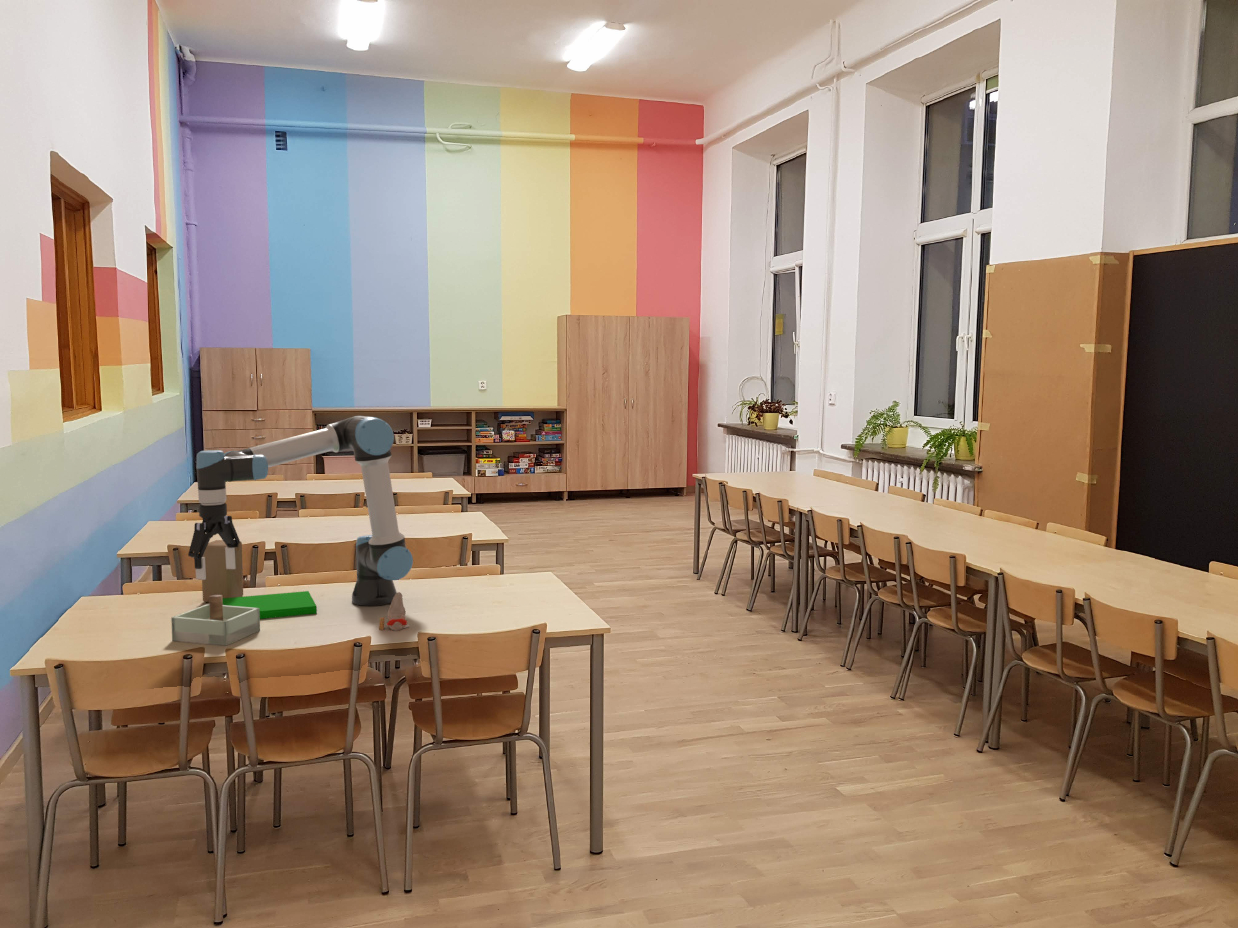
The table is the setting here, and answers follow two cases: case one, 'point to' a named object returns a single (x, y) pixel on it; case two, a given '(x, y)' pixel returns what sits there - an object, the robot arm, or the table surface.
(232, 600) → the book
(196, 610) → the crate
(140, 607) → the table surface
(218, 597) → the peg
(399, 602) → the figurine
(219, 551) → the wooden block
